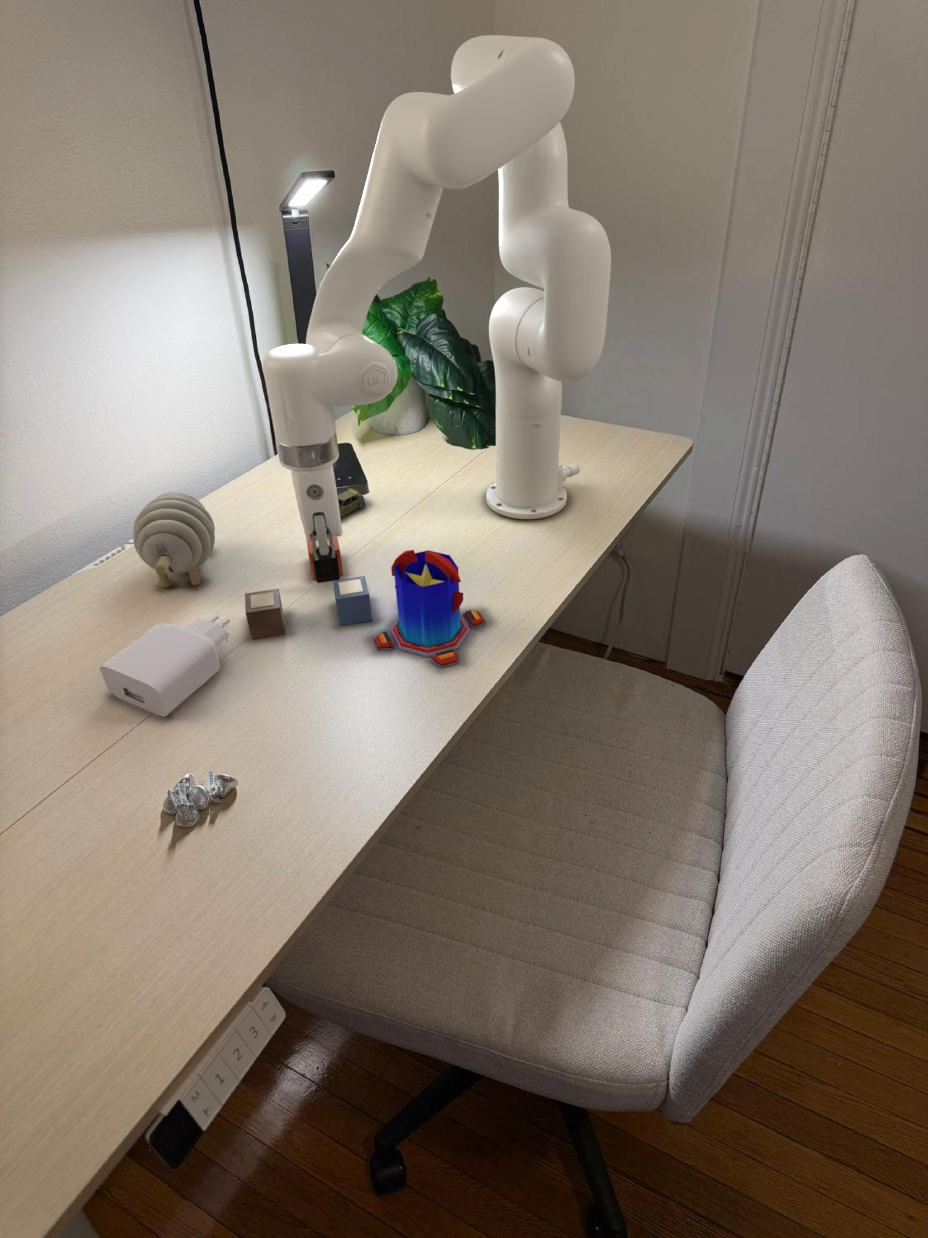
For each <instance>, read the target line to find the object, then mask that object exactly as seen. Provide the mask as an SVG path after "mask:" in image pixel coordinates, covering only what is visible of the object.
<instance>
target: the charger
mask: <svg viewBox="0 0 928 1238" xmlns="http://www.w3.org/2000/svg"><path fill="white" fill-rule="evenodd" d="M218 619H220V616H219V615H218V614H216V615H215V616H213V617H212V618H211V619H210V620H208V619H206V618H203V617H202V618H198V619H194V620H193V621H192V622H190V623H189V624H188V625H186V627H182V626H179V625H176V624H174V623H171V622H166V623H165V622H164V623H162V622H161V623H156V624H155V625H154V626H153V627H151V628H150V629H148V630H147V631H146V632H144V633H143V634H142V635H141V636H139V637H138V638H137V639H135V640H133V642H132V643H130V644H129V645H127V646H126V647H124V648H123V649H122V650H120V651H119V652H118V653H116V655H114V656H112V657H111V658H110V659H109V660H106V662H105V663H103V664H102V665H101V666H99V670H100V673H101V675H102V678H103V680H104V683H105V686H106V689H107V690H108V691H109V693H111V695H113V696H115V697H116V698H118V699H120V700H122V701H124V702H126V703H129V704H131V705H133V706H135V707H137V708H140V709H143V710H145V711H147V712H149V713H152V714H154V715H157V716H159V717H164V718H165V717H167V716H168V715H169V714H170V713H172V712H173V711H174V710H175V709H176V708H177V707H178V706H180V705H181V704H182V703H183V702H185V700H187V699H188V698H189V697H190V696H191V695H193V693H195V692H196V691H197V690H198V689H200V688H201V687H202V686H203V685H204V684H205V683H206V682H208V681H209V680H210V679H211V678H212V677H213V676H214V675H216V674H217V673H218V672H220V670H221V665H220V660H219V654H218V651H217V648H216V647H218V646H219V645H220V644H221V643H222V642H224V641H225V640H227V638H228V637H229V636H230V633H229V632H228V631H227V630H226V629H225V628H224V627H226V626H227V624H228V623H230V621H231V620H230V619H229V618H226V619H225V620H224V621H222V622H221V623H220V624H218V623H216V621H217V620H218Z"/></svg>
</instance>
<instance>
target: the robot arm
mask: <svg viewBox="0 0 928 1238" xmlns="http://www.w3.org/2000/svg"><path fill="white" fill-rule="evenodd" d="M450 80H451V87H452V91H453V93H452V94H443V93H436V92H426V91H413V92H407V93H403V94H401V95H399V96H397V97H395V98H394V99H393V100H392V101H391V102H390V104H389V105H388V106H387V108H386V109H385V111H384V115H383V117H382V120H381V122H380V126H379V130H378V134H377V138H376V142H375V145H374V149H373V153H372V156H371V161H370V164H369V165H370V166H369V168H368V173H367V175H366V176H367V177H366V181H365V184H364V188H363V192H362V195H361V196H362V197H361V199H360V204H359V207H358V210H357V214H356V218H355V222H354V226H353V228H352V232H351V234H350V236H349V238H348V239H347V241H346V242H345V244H344V245H343V246H342V247H341V249H340V251H339V252H338V253H337V255H336V257H335V258H334V260H333V262H332V263H331V264H330V266H329V267H328V269H327V270H326V272H325V274H324V276H323V278H322V280H321V282H320V284H319V287H318V290H317V292H316V295H315V299H314V302H313V305H312V310H311V314H310V317H309V322H308V326H307V332H306V336H305V337H306V338H305V343H290V344H284V345H281V346H276V347H274V348H272V349H271V350H269V351H268V352H267V353H266V354H265V356H264V358H263V361H262V369H263V377H264V382H265V388H266V392H267V397H268V398H267V400H268V406H269V411H270V415H271V416H270V417H271V421H272V427H273V433H274V438H275V443H276V444H275V445H276V450H277V455H278V461H279V464H280V465H281V466H282V467H283V468H285V469H287V470H290V472H291V478H292V484H293V488H294V490H293V491H294V494H295V499H296V504H297V508H298V512H299V516H300V521H301V525H302V528H303V532H304V536H305V539H306V538H307V539H308V540H310V541H311V540H312V546H313V552H314V556H312V558H313V564H314V570H315V576H316V579H315V581H316V583H317V584H323V583H329V582H332V581H334V580H341V575H340V573H339V566H338V559H337V553H335V550H334V544H333V538H332V537H333V536H334V537H335V536H337V537H338V538H340V537H342V535H343V531H344V530H343V526H342V519H341V518H342V517H340V511H339V503H338V496H337V495H338V489H337V482H336V477H335V470H334V466H333V465H334V464H335V463H336V462H337V461H338V459H339V458H340V452H339V445H338V437H337V429H336V422H335V421H336V420H335V414H334V413H335V412H334V408H336V407H337V408H338V407H350V406H351V407H352V406H364V405H371V404H374V403H377V402H379V401H382V400H383V399H385V398H386V397H387V396H388V395H390V393H392V391H393V390H394V388H395V386H396V384H397V381H398V373H399V372H398V366H397V363H396V361H395V359H394V357H393V356H392V354H391V353H390V352H389V351H388V349H386V348H385V347H384V346H383V345H381V344H379V343H378V342H376V341H375V340H373V339H371V338H369V336H367V335H366V334H363V330H364V327H365V324H366V320H367V316H368V313H369V310H370V308H371V305H372V304H373V301H374V299H375V297H376V296H377V294H378V292H379V291H380V290H381V289H382V287H383V286H384V285H386V283H388V282H389V281H390V280H391V279H393V278H394V277H396V276H398V275H401V274H402V273H403V272H405V271H408V270H409V269H411V268H413V267H415V266H417V265H418V264H419V263H420V262H421V261H422V259H423V257H424V255H425V253H426V249H427V245H428V241H429V239H430V235H431V231H432V228H433V224H434V221H435V218H436V214H437V210H438V208H439V204H440V201H441V197H442V194H443V191H444V189H448V190H462V189H466V188H468V187H472V186H473V185H476V184H477V183H479V182H481V181H482V180H484V179H486V178H488V177H489V176H490V175H492V174H494V173H495V172H497V174H498V252H499V253H498V254H499V258H500V262H501V264H502V266H503V268H504V269H505V270H506V271H507V273H509V274H510V275H512V276H513V277H515V278H517V279H519V280H521V281H523V282H526V283H528V284H531V285H534V286H536V287H539V288H541V289H538V288H534V287H526V286H522V287H516V288H512V289H511V290H507V291H506V292H505V293H503V294H502V295H501V296H500V297H499V298H498V299H497V301H496V302H495V303H494V305H493V307H492V310H491V313H490V317H489V323H488V338H489V345H490V351H491V356H492V362H493V367H494V376H495V377H494V379H495V481H494V482H493V483H491V484H490V485H489V487H488V488H487V490H486V491H485V493H486V494H485V500H486V504H487V505H488V507H489V508H490V509H491V510H492V511H493V512H495V513H497V514H499V515H500V516H501V515H502V516H504V517H507V518H511V519H516V520H539V519H542V518H547V517H550V516H553V515H555V514H557V513H558V512H560V511H561V510H562V509H564V507H565V506H566V504H567V502H568V492H567V490H566V488H565V487H564V485H563V483H564V482H566V480H567V479H569V478H571V477H573V476H575V475H578V474H579V473H580V471H581V467H580V466H579V464H578V463H577V462H572V463H569V464H567V465H565V466H563V463H562V462H561V461H560V459H559V458H560V443H561V442H560V440H561V439H560V438H561V421H562V420H561V419H562V407H563V406H562V405H563V404H562V403H563V385H562V383H575V382H579V381H581V380H583V379H584V378H586V377H588V376H589V375H590V374H591V372H592V371H594V369H595V368H596V367H597V364H598V362H599V360H600V358H601V356H602V352H603V349H604V344H605V338H606V333H607V323H608V322H607V321H608V320H607V319H608V308H609V296H610V285H611V273H612V272H611V271H612V251H611V245H610V241H609V238H608V235H607V232H606V230H605V228H604V227H603V225H602V224H601V223H600V222H599V221H598V220H597V218H595V217H594V216H592V215H590V214H588V213H587V212H584V211H581V210H578V209H574V208H571V207H570V206H569V197H568V196H569V195H568V192H569V191H568V189H569V188H568V187H569V185H568V184H569V181H568V178H569V176H568V173H569V172H568V171H569V170H568V169H569V167H568V166H569V165H568V163H569V162H568V149H567V141H566V137H565V132H564V129H563V127H562V123H561V121H562V120H563V118H564V117H565V115H566V114H567V112H568V110H569V108H570V106H571V103H572V100H573V97H574V94H575V87H576V86H575V85H576V84H575V83H576V77H575V70H574V66H573V63H572V60H571V58H570V56H569V54H568V53H567V52H566V50H564V49H563V48H562V46H561V45H559V44H558V43H557V42H556V41H553V40H550V39H547V38H545V37H544V38H543V37H537V36H536V37H535V36H513V35H504V34H502V35H501V34H500V35H499V34H490V35H489V34H488V35H487V34H485V35H479V36H475V37H472V38H470V39H468V40H467V41H465V42H463V43H462V44H461V45H460V46H459V47H458V48H457V50H456V51H455V53H454V55H453V58H452V61H451V66H450ZM542 289H543V290H542ZM332 534H333V535H332ZM327 539H329V544H330V545H329V546H328V541H327ZM316 540H318V545H319V547H317V546H316Z"/></svg>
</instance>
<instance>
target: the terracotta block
mask: <svg viewBox="0 0 928 1238" xmlns="http://www.w3.org/2000/svg"><path fill="white" fill-rule="evenodd" d="M332 535H333V534H332ZM332 538H333V544H334V550H335V553H337V559H338V566H339V573H340V576H343V575H344V569H343V562H342V555H341V550H340V544H339V539H338V536H335V537H334V536H333V537H332ZM305 539H306V546H307V547H306V548H307V554H308V559H309V565H310V572H311V577H312V580H316V576H315V570H314V564H313V558H312V556H314V552H313V546H312V540H311V541H310V540H308V539H307V538H306V537H305ZM327 541H328V546H329V545H330V544H329V539H327ZM316 546H317V547H319V545H318V540H316Z"/></svg>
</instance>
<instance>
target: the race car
mask: <svg viewBox="0 0 928 1238" xmlns="http://www.w3.org/2000/svg"><path fill="white" fill-rule="evenodd" d="M337 496H338V503H339V511H340V518H342V517H343V516H345V515H347V514H349V513H351V512H353V511H356V510H358V509H363V508H364V506H366V505H367V502H366V499H365V497H364V495H363V494H362V493H360V491H358V490H356V489H354V488H351V487H349V488H348V489H347V490H345V491H342V492H341V493H338V494H337Z"/></svg>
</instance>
